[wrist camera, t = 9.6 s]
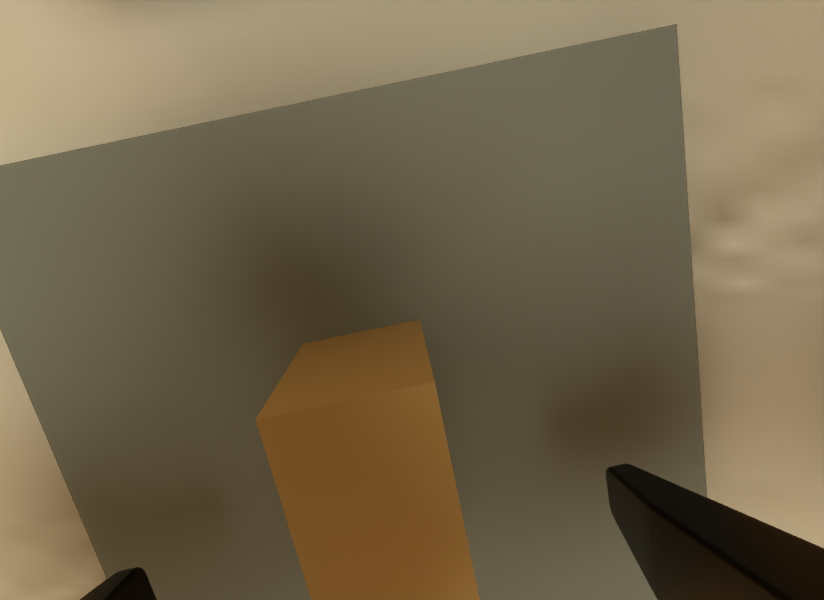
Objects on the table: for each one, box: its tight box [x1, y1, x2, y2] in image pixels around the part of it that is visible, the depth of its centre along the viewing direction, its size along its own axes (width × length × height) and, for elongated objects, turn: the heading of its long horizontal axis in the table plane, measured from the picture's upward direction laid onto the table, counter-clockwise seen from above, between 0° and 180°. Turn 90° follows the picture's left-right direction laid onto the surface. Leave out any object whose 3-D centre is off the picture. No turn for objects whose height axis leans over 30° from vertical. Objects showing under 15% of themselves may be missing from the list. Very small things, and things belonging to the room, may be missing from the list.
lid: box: [0, 24, 707, 600], centre depth 10 cm, size 17×17×5 cm
